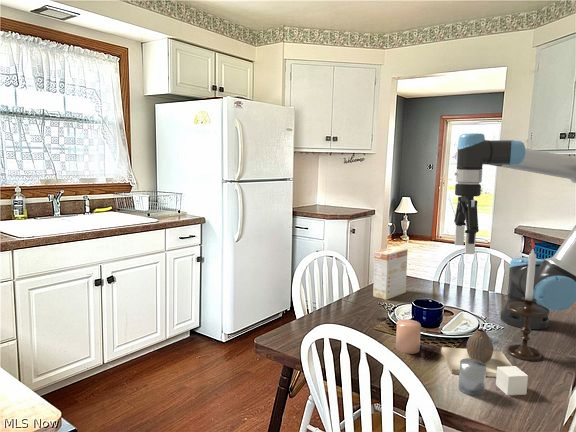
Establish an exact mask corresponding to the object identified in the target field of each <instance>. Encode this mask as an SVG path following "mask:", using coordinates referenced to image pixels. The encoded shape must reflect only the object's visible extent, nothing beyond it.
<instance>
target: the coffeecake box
mask: <svg viewBox="0 0 576 432" xmlns="http://www.w3.org/2000/svg"><path fill="white" fill-rule="evenodd" d="M373 256H374V257H373V258H374V259H373V260H374V261H373V289H372V292H373V293H372V296H373V297H375V298H379V299H382V300H385V301H387V300H389V299H393V298H395V297H398V296H401V295H403V294H405V293H406V292H407V275H408V274H407V273H408V272H407V271H408V248H405V247H404V248H403V247H399V246H391V247H387V248H383V249H379V250H374V255H373Z"/></svg>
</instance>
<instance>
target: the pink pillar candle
mask: <svg viewBox="0 0 576 432" xmlns="http://www.w3.org/2000/svg"><path fill="white" fill-rule="evenodd" d="M421 328H422V325H421V323H420V322H419V321H417V320H413V319H410V318H409V319H406V318H402V319H399V320H397V321H396V333H395V349H396V350H397V351H398V352H400V353H403V354H409V355H414V354H417V353H419V352H420V348H421V347H420V346H421V330H422V329H421Z"/></svg>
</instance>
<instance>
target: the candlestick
mask: <svg viewBox="0 0 576 432" xmlns="http://www.w3.org/2000/svg"><path fill="white" fill-rule="evenodd" d="M530 243H531V251H530V253H528V258H529V259H528V271H527V282H526V294H525V297H521V299H523V300H525V301H524V302H510V303H508V304H507V309H508V310H509V311H510V312H512V313H515V314H517V315H521V316H525V318H524V327H522V328H520V332H521V333H522V335H521V336H520V339H521V341H522V343H521V344H511V345H508V346H507V348H506V352H507V354H508V355H509V356H511V357H512V358H516V359H517V360H521V361H526V362H527V361H528V362H537V361H540V360H541V359H542V355H543V354H542V352H541V351H540V350H538V349H536V348H534V347H531V346H528V341H530V340H531V338H530V336H529V335H530V334H531V333H532V329H530V328H529V320H530V317H533V318H543V317H547V316H548V317H549V316H550V310H549V309H547V308H546V307H544V306H541V305H538V304H534V303H532V302H533V301H536V299H534V298H533V286H534V275H535V263H536V259H537V254H536V253H535V248H536V245H535V242H534V239H533V237H532V238H531V240H530Z"/></svg>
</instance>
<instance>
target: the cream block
mask: <svg viewBox="0 0 576 432" xmlns="http://www.w3.org/2000/svg"><path fill="white" fill-rule="evenodd" d="M495 379H496V380H495V386H497V388H498V389H500V390H501V391H502V392H503V393H504V394H505V395H506V396H520V395H521V396H522V395H525V396H526V395H527V393H528V392H527V391H528V380H529V375H528V374H527V373H525V372H524V371H523V370H521V368H519V367H518V366H516V365H512V366H505V367H497V375H496V377H495Z"/></svg>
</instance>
